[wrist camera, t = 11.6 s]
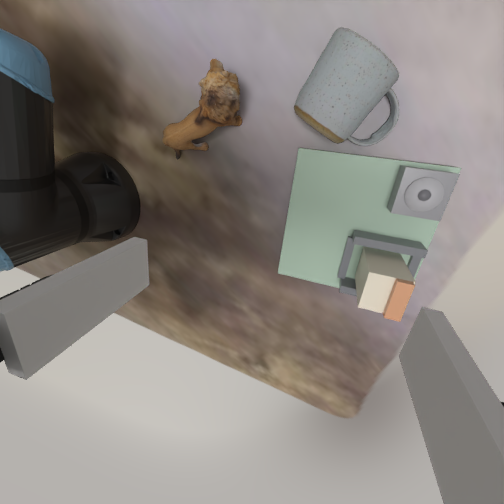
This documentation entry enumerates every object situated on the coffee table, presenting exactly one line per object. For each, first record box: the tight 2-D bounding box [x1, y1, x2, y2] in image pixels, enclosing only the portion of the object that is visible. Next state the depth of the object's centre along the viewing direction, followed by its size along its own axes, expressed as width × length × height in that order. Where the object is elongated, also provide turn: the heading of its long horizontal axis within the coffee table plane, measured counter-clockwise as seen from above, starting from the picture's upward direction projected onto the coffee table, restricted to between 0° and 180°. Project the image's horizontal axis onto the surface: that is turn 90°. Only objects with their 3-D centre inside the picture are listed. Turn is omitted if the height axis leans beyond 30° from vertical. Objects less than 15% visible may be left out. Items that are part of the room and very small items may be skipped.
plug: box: [355, 247, 416, 322], centre depth 31 cm, size 4×4×9 cm
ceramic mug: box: [294, 28, 399, 146], centre depth 27 cm, size 11×8×8 cm
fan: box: [387, 165, 460, 221], centre depth 29 cm, size 5×5×4 cm
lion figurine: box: [163, 59, 242, 159], centre depth 32 cm, size 15×5×9 cm, turn 127°
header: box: [337, 230, 428, 296], centre depth 34 cm, size 9×8×3 cm
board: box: [278, 148, 461, 288], centre depth 35 cm, size 18×18×1 cm
